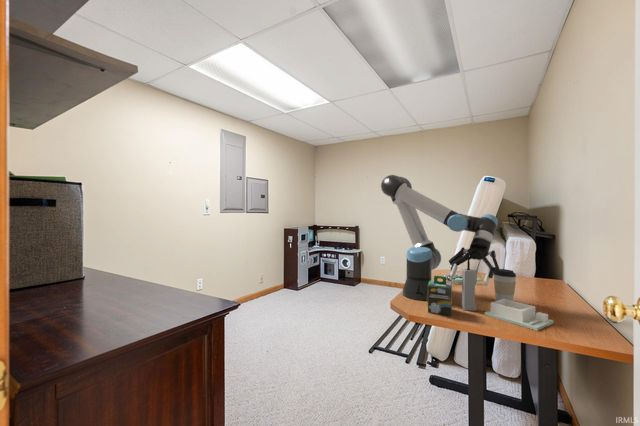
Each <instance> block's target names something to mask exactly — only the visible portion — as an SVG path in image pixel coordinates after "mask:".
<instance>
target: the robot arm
mask: <svg viewBox="0 0 640 426" xmlns="http://www.w3.org/2000/svg"><path fill="white" fill-rule="evenodd" d="M380 187H381V191H382V192H383V194H384V195H385V196H387V197H390V198H391V201H392V204H394V205H396V206H397V208H398V211H399V214H400V216H401V219H402V221H403V222H402V223H403V224H404V227H405V228H406V231H407V234H408V236H409V238H410V241H411V244H412V247H410V248H408V249H407V250H406V279H405V282H404V285H403V288H402V295H403V296H404V297H405V298H408V299H412V300H418V301H428V284H429V281H432V271H433V270H436V269H437V268H438V267H439V266H440V264H441V261H442V255H441V253H440V251H439V250H438V249H437V248H436V247H435V245H434V242H433V241H432V240H430V239H429V238H428V235H427V233H426V230H425V228H424V225H423V223H422V221H421V218H420V216H419V214H418V213H419V212H421V213H423V214H425V215H427V216H428V217H431V218H432V219H434V220H436V221H438V222H439V223H441V224H443V225H444V226H446V227H448V228H449V230H451V231H453V232H458V233H460V232H463V231H466V232H471V233H474V236H473V237H472V240H471V243H470V245H469V248H465V247H461V249H460V250H459V251H458V252H457V253H456V254H455V255H453V256H452V257H451V258H449V260H448V263H449V265H451V266H450V268H449V269H450V273H449V277H450V279H451V280H454V279H455V275H456V273H457V271H458V268H459V267H458V266H459V265H461V264H464V263H465V262H468V251H470V254H469V261H470V260H477V261H483V263H485V265H486V266H487V270H486V273H485V276H484V279H483V284H484V285H485V286H488V285H489V281H490V279H494V278H493V277H494V272H500V269H501V268H500V266H499V263H498V260H497V259H496V256H497V254H496V251H495V250H493V249H492V250H491V251H490V248H491V245H492V241H493V239H494V236H495V233H496V232H497V231H496V230H497V229H498V224H499V223H498V222H499V220H498V218H497V217H496V216H495V215H493V214H491V213H490V214H489V213H487V214H483V215H481V217H479V216H472V215H469V214H468V215H467V214H463V213H459V212H457V211H454V210H452V209H451V208H449V207H447V206H445V205H443V204H441V203H439V202H438V201H436V200H433V199H432V198H429V197H428V196H426V195H424V194H423V193H420V192H418V191H417V190H414V189H413V186H412V183H411V182H410V180H409V179H407V178H405V177H403V176H398V175H395V174H390V175H387V176H385V177H384V178H383V179H382V181H381V183H380ZM417 210H418V211H419V212H417ZM488 257H491V258H492V262H493V264H494V266H493V264H492V263H491V262H490V261H489V259H488Z"/></svg>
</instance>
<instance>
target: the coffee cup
mask: <svg viewBox="0 0 640 426" xmlns="http://www.w3.org/2000/svg"><path fill="white" fill-rule="evenodd" d="M499 269H500V272H494V275H493V277H494V278H493V285H494V295H495V301H498V300H502V299H506V300H510V301H514V297H515V296H514V295H515V291H516V290H515V289H516V284H517V281H516V279H517V274H516V273H515V272H514V271H513V270H511V269H504V268H499Z"/></svg>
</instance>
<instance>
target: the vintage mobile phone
mask: <svg viewBox="0 0 640 426" xmlns="http://www.w3.org/2000/svg"><path fill="white" fill-rule="evenodd" d="M467 253H468V260H467V261H466V263H467V267H466V268H463V269H462V271H461V272H462V273H461V278H462V279H461V307H462V309H463V310H464V311H471V312H472V311H473V312H476V311H478V307H477V305H476V303H475V302H476V298H475V297H476V284H477V279H478V273H479V272H478V270H476V269H471V268H470V267H471V265H470V260H469V257H470V255H469V254H470V251H468V252H467Z"/></svg>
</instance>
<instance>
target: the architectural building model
mask: <svg viewBox="0 0 640 426" xmlns="http://www.w3.org/2000/svg"><path fill="white" fill-rule="evenodd" d="M484 316H487V317H490V318H494V319H497V320H500V321H503V322H507V323H511V324H513V325H515V326H516V325H517V326H520V327H522V328H527V329H529V328H530V330H532V329H533V331H536V332H538V331H540V330H542V329H544V327H545V328H547V327H549V326H552V325H553V324H554V323H555V320H553V319H549V314H548V313H544V312H541V311H539V312H536V305H535V306H534V305H531V304H527V303H523V302H520V301H519V302H518V301H514V300H513V301H510V300H506V299H502V300H498V301H496V300H495V301H492V302H490V310H488V311H485V312H484ZM546 326H547V327H546Z"/></svg>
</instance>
